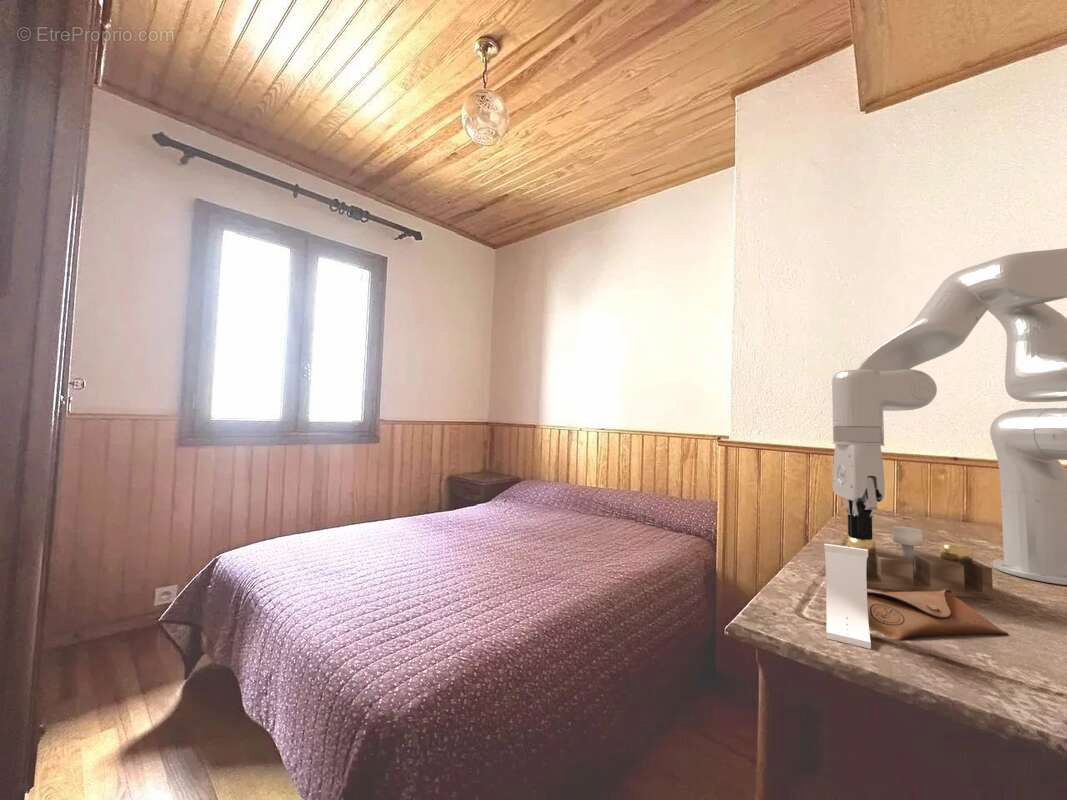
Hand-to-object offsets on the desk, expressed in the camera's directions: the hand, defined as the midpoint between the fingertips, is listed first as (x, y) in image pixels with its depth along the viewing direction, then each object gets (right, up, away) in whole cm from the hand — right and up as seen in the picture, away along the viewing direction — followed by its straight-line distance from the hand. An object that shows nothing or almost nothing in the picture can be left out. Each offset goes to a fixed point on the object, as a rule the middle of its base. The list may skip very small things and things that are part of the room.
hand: (860, 537), depth 79 cm
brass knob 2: (+14, -6, -4) cm, 16 cm away
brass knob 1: (0, -6, 0) cm, 6 cm away
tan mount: (+7, -8, -2) cm, 10 cm away
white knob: (+7, -4, -2) cm, 8 cm away
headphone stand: (-18, -6, -21) cm, 28 cm away
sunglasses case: (-5, -7, -18) cm, 20 cm away
